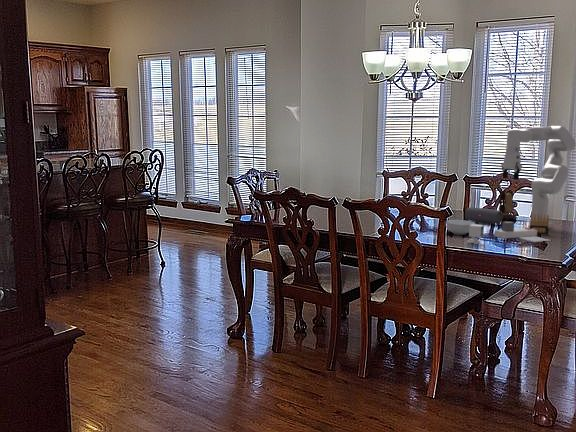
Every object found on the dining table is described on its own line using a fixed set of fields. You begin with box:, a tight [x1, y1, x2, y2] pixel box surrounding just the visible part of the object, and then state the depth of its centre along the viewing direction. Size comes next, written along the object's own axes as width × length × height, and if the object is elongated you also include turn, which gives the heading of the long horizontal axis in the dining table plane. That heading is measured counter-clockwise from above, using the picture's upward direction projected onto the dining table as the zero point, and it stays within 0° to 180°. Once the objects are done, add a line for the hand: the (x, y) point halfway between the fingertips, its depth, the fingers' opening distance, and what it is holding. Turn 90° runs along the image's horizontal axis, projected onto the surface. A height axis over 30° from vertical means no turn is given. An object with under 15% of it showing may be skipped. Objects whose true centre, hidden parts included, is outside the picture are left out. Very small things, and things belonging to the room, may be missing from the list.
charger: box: [501, 221, 515, 232], centre depth 346 cm, size 5×4×7 cm
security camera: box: [466, 223, 485, 245], centre depth 328 cm, size 6×7×10 cm
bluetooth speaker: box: [464, 206, 504, 225], centre depth 393 cm, size 23×9×10 cm, turn 42°
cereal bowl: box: [445, 219, 476, 236], centre depth 356 cm, size 17×17×7 cm
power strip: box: [494, 227, 538, 239], centre depth 349 cm, size 24×8×4 cm, turn 111°
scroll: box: [498, 190, 518, 222], centre depth 408 cm, size 15×15×20 cm
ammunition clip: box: [529, 213, 550, 236], centre depth 356 cm, size 11×2×12 cm, turn 68°
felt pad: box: [518, 236, 552, 243], centre depth 338 cm, size 12×12×1 cm
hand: (510, 178), depth 358 cm, fingers open, 9 cm apart
